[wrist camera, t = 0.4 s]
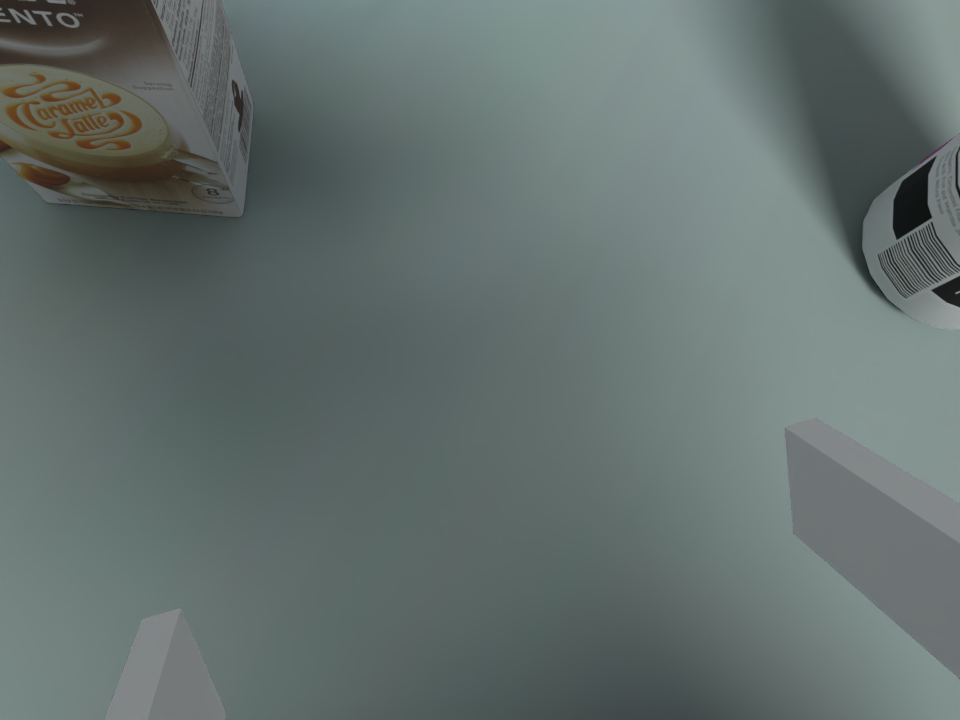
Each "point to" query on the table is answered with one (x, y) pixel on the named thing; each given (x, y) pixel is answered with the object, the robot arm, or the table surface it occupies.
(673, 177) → the table surface
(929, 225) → the supplement can
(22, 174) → the coffee box
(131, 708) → the robot arm
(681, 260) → the table surface
